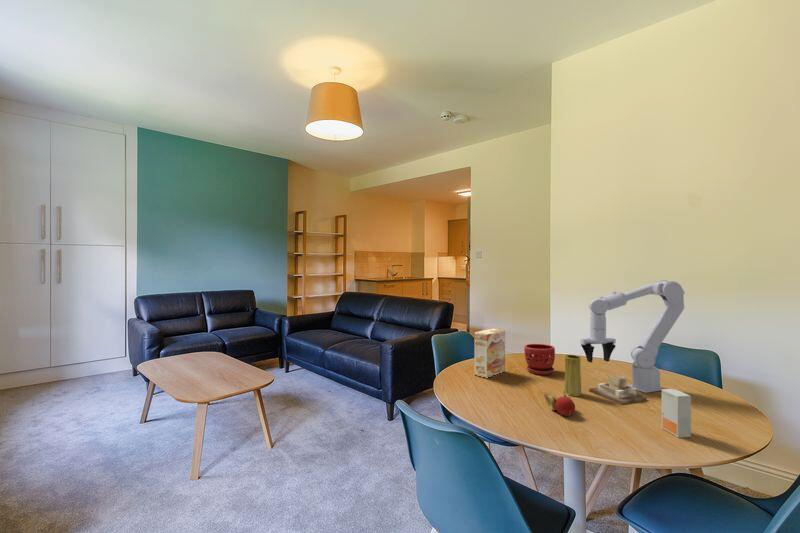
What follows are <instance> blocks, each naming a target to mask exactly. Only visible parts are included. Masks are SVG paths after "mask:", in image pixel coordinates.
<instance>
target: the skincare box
mask: <svg viewBox="0 0 800 533" xmlns="http://www.w3.org/2000/svg"><path fill="white" fill-rule="evenodd" d="M661 389H662V390H661V425H660V426H661V429H663V430H664V431H666V432H668V433H669V434H671V435H673V436H675V437H677V438H679V439H680V438H691V437H692V396H691V395H689V394H688V393H685V392H684V391H680V390H677V389H675V388H661Z"/></svg>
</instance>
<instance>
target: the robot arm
mask: <svg viewBox="0 0 800 533" xmlns="http://www.w3.org/2000/svg"><path fill="white" fill-rule="evenodd" d="M648 295H653V296H659V297H661V299H662V301H663V303H664V305H665V307H664V309H663V310H662V312H661V314H660V315H659V317H658V318H657V320H656V322H655V323H654V325H653V326H652V328H651V329H650V331H649V332H648V334H647V336H646V337H645V339H644V340H643V341H641V342H640V343H639V344H638V345H637V346H636V347H634V348H633V349H632V350H631V353H630V356H631V358H632V360H633V362H632V363H631V384H627V386H630V387H633V388H636V389H637V391H638V392H642V393H645V394H646V393H652V392H660V391H662V389H663V388H661V372H660V370H659V369H658V368H657V367H656V366H655V364H656V358H657V356H658V354H659V348H660V346H661V345H662V343H663V342H664V341H665V338H666V337H667V336H668V334H669V332H670V331H671V329H672V328H673V327H674V325H675V323H676V322H677V320H678V319H679V318H680V316H681V314H682V313H683V311H684V310H685V299H684V295H685V290H684V288H683V287H682V285H681V284H680V283H679V282H677V281H672V280H666V279H665V280H664V279H662V280H659V281H655V282H651V283H648V284H645V285H643V286H639V287H638V288H634V289H631V290H629V291H626V292H624V293H623V292H621V291H612V292H611V294H608V295H604V296H599V298H595V299H592V300H590V303H589V304H588V307H589V310H590V317H589V331H590V333H589V336H590V337H588V338H580V346H581V348H582V349H583V351H584V353H585V357H586V361H587V362H588V363H593V355H594V350H595V346H593V345H600V344H601V346H602V352H603V354H602V355H603V361H605V362H607V363H608V362H610V359H611V355H612V353H613V351H614V350H615V349H616V340H617V339H616V338H614V337H607V316H606V313H607V312H608V311H611V310H614V309H617V308H618V309H619V308H620V307H623V306H626V305H627V303H628V301H631V300H635V299H638V298H641V297H645V296H648Z"/></svg>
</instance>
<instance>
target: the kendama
mask: <svg viewBox="0 0 800 533" xmlns="http://www.w3.org/2000/svg"><path fill="white" fill-rule="evenodd" d="M543 396H544V398H545V399H546V402H547V406H548V408H549V409H550V410H551V411H557V413H559V415H561V416H564V417H570V416H572V415H574V413H575V412H576V405H575V402H574V401H573V399H572V398H571V396H570V395H568V394H565V393H564V394H563V396H559V397H558V396H557V395H555V394H554V393H553V392H552V391H551V390H545V391H544V393H543Z"/></svg>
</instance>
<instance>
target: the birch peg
mask: <svg viewBox="0 0 800 533" xmlns="http://www.w3.org/2000/svg"><path fill="white" fill-rule="evenodd" d="M608 382H609V387H611V388H614V389H616V390H622V389H627V385H628V384H627V383H628V382H627V378H626V377H624V376H620V375H619V374H615V375H609V376H608Z"/></svg>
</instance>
